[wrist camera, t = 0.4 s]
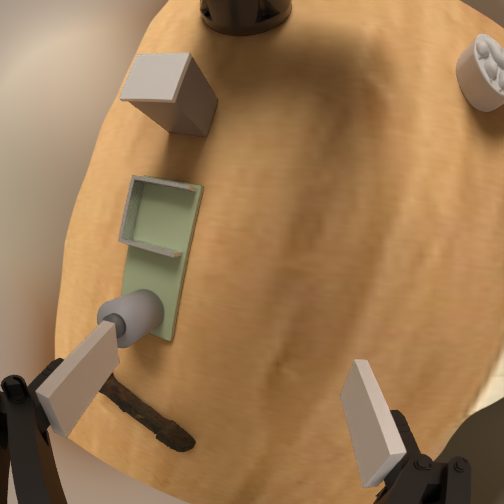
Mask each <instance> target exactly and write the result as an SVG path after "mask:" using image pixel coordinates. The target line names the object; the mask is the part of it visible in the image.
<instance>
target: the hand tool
mask: <svg viewBox="0 0 504 504" xmlns="http://www.w3.org/2000/svg"><path fill="white" fill-rule="evenodd" d="M99 392H100V393H102V394H104V395H106V396H107V397H109V398H110V399H111V400H112V401H113V402H114V403H116V404H117V405H118V406H119V408H120V409H121V410H122V411H123V412H127V413H128V414H129V415H131V416H132V417H133V418H135V419H136V420H137V421H139V422H140V423H141V424H143V425H144V426H145V427H147V428H148V429H149V430H151V431H152V432H153V433H154V434H156V439H158V440H159V441H161V442H162V443H164V444H165V445H166V446H168V447H170V448H171V449H174V450H176V451H178V452H186V451H188V450H190V449H192V448H193V447H194V445H195V443H196V442H195V440H194V439H193V438H192V437H191V436H190V435H189V434H188V433H187V432H186V431H185V430H184V429H182V428H181V427H180V426H179V425H177V424H176V423H175V422H174V421H172V420H171V421H169V420H167V419H165V418H163V417H162V416H160V415H159V414H158V413H157V412H156V411H154V410H153V409H152V408H151V407H150V406H148V405H146V404H145V403H143V402H142V401H141V400H140V399H138V398H137V397H136V396H135V395H134V394H132V393H131V392H130V391H129V390H128V389H126V388H125V387H124V386H123V385H121V384H120V383H119V382H118V381H117V380H115V379H114V377H113V373H111V375H110V376H109V378H108V379H107V380H106V382H105V383H104V385H103V386H102V387H101V389H100V390H99Z"/></svg>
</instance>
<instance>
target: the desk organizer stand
mask: <svg viewBox="0 0 504 504" xmlns="http://www.w3.org/2000/svg"><path fill="white" fill-rule="evenodd" d="M143 177H147V178H152V179H158V180H164V181H169V182H175V183H180V184H185V185H190V186H192V187H194V188H197V192H191V191H186V190H181V189H176V188H171V187H166V186H160V185H155V184H150V183H145V184H144V188H143V193H142V197H141V201H140V206H139V210H138V215H137V220H136V225H135V230H134V235H133V238H134V239H137V240H141V241H145V242H148V243H152V244H156V245H159V246H163V247H167V248H170V249H174V250H178V251H181V252H183V254H182V256H178V257H170V256H167V255H163V254H160V253H156V252H153V251H149V250H146V249H142V248H139V247H135V246H132V245H129V246H128V252H127V258H126V264H125V271H124V277H123V285H122V292H121V297H118V298H115V299H113V300H110V301H107V302H105V303H104V304H102V306H101V307H100V308H99V311H98V315H97V323H98V325H99V324H100V323H101V322H102V321H103V320H104V321H108V322H112V323H115V329H116V338H117V346H118V348H127V347H129V346H131V345H132V344H134V343H135V342H136V341H138V340H139V339H141V338H142V337H144V336H145V335H147V334H148V333H149V334H152V335H154V336H157V337H160V338H163V339H165V340H168V341H171V340H172V339H173V337H174V331H175V325H176V319H177V314H178V308H179V302H180V297H181V292H182V286H183V281H184V276H185V271H186V266H187V261H188V256H189V252H190V247H191V242H192V238H193V233H194V229H195V224H196V220H197V216H198V211H199V207H200V203H201V199H202V195H203V190H204V187H203V186H200V185H195V184H190V183H184V182H179V181H174V180H168V179H162V178H157V177H151V176H145V175H144V176H143Z"/></svg>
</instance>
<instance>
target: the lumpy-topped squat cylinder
mask: <svg viewBox="0 0 504 504" xmlns="http://www.w3.org/2000/svg"><path fill="white" fill-rule="evenodd" d="M456 76H457V79H458V83H459V86H460V88H461V90H462V92H463V94H464V96H465V98H466V99H467V101H468V102H469V103H470V104H471V105H472V106H473V107H474V108H476V109H477V110H480V111H483V112H490V111H493V110H495V109H497V108H498V107H500V106H502V105H503V104H504V49H503V48H502V47H501V46H500V45H499V44H498V43H497V42H496V41H495V40H493V39H492V38H491V37H490V36H488V35H486V34H479V35H478V36H477V37H476V38H475V39H474V40H473V41H472V43H471V44H470V45H469V46H468V47H467V48H466V49H465V50H464V51H463V53H462V54H461V55H460V57H459V59H458V62H457V65H456Z"/></svg>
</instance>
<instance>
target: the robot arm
mask: <svg viewBox="0 0 504 504" xmlns="http://www.w3.org/2000/svg"><path fill="white" fill-rule="evenodd" d="M291 7H292V4H291V0H200V12H201V15H202V17H203V19H204V21H205V23H206V24H207V25H208V26H209V27H210V28H211V29H213V30H215V31H217V32H219V33H222V34H227V35H235V36H243V35H253V34H258V33H261V32H265V31H268V30H270V29H272V28H274V27H276V26H278V25H279V24H281V23H282V22H283V21H284V20H285V19H286V18H287V17H288V16H289V14H290V12H291ZM119 362H120V361H119V354H118V346H117V338H116V329H115V323H112V322H108V321H104V320H103V321H102V322H101V323H100V324H99V325H98V326H97V327H96V328H95V329H94V330H93V331H92V332H91V333H90V334H89V335H88V336H87V337H86V338H85V339H84V340H83V341H82V342H81V343H80V344H79V345H78V346H77V347H76V348H75V349H74V351H73V352H72V353H71V354H70V355H69V356H68V357H67V358H66V359H65V360H64V359H62V358H58V359H56V360H54V361H52V362H51V363H50V364H49V365H48V366H47V367H46V369H44V370H43V371H42V372H41V374H39V375H38V376H37V377H36V378H35V379H34V380H33V381H32V383H31V384H29V386H28V387H27V385H26V382H25V380H24V379H23V378H22V377H21V376H18V375H10V376H8V377H6V378H4V380H3V381H2V382H1V387H2V390H3V392H1V391H0V504H7V494H8V478H9V468H10V460H11V466H12V474H13V479H14V485H15V490H16V495H17V500H18V504H67V501H66V498H65V495H64V492H63V489H62V485H61V482H60V479H59V475H58V472H57V468H56V464H55V460H54V456H53V452H52V447H51V443H50V438H49V433H48V431H47V428H48V427H49V425H51V427H52V429H53V431H54V432H55V433H57V434H59V435H61V436H63V437H65V438H67V437H68V436H69V434H70V433H71V431H72V430H73V428H74V427H75V425H76V424H77V422H78V421H79V419H80V418H81V416H82V415H83V413H84V412H85V410H86V409H87V408H88V406H89V405H90V403H91V402H92V400H93V399H94V397H95V396H96V395H97V393H98V392H99V390H100V389H101V387H102V386H103V385H104V383H105V382H106V380H107V379H108V378H109V376H110V375H111V373H112V372H113V371H114V369H115V368H116V366H117V365H118V364H119ZM340 398H341V401H342V405H343V409H344V413H345V416H346V420H347V424H348V428H349V432H350V436H351V440H352V444H353V448H354V452H355V456H356V460H357V465H358V469H359V473H360V478H361V482H362V487H363V488H367V487H374V486H378V485H379V484H380V483H381V482H382V481H383V480H384V482H385V485H386V486H385V487H384V488H383V489H382V490H381V491H380V492H379V493H378V494H377V495H376V497H377V499H376V500H375V502H374V503H373V504H470V497H471V466H470V463H469V462H468V460H467V459H465V458H464V457H460V456H456V457H454V458H452V459H451V460H450V461H449V462H448V463H438V462H433V461H432V459H431V458H430V457H429V456H427V455H425V454H421V453H420V450H419V448H418V446H417V443H416V441H415V439H414V437H413V434H412V432H410V428H409V426H408V423H407V421H406V419H405V417H404V415H403V414H402V413H401V412H400V411H399V410H389V408H388V406H387V403H386V401H385V399H384V396H383V394H382V392H381V390H380V387H379V385H378V383H377V381H376V378H375V376H374V374H373V372H372V370H371V367H370V365H369V363H368V361H367V360H363V359H354V361H353V364H352V367H351V369H350V372H349V374H348V377H347V380H346V382H345V385H344V387H343V390H342V392H341V394H340Z"/></svg>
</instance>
